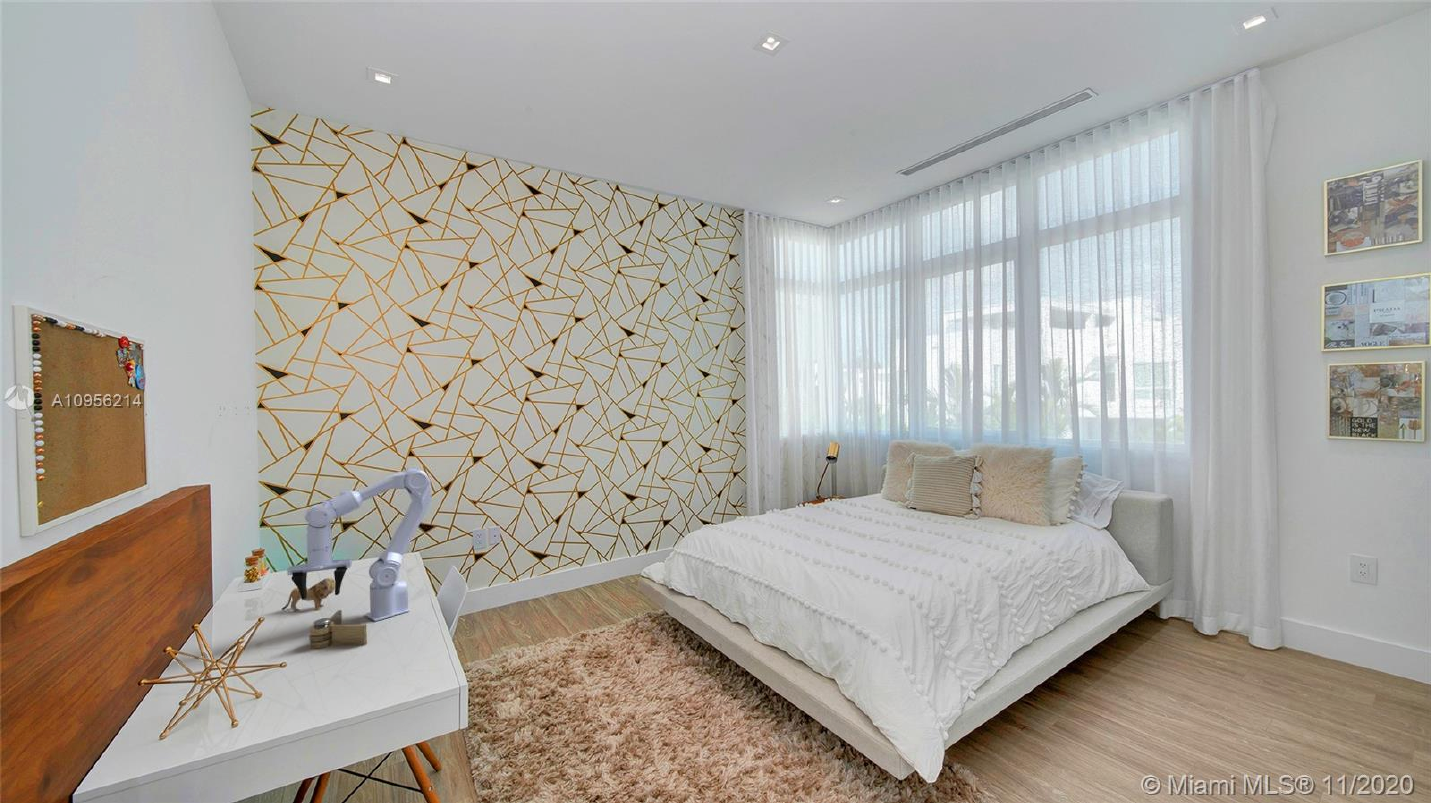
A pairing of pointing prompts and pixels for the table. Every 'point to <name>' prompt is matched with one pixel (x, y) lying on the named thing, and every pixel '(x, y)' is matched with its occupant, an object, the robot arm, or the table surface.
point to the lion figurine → (313, 594)
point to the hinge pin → (322, 622)
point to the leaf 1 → (337, 621)
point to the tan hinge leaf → (339, 635)
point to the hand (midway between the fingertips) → (320, 596)
